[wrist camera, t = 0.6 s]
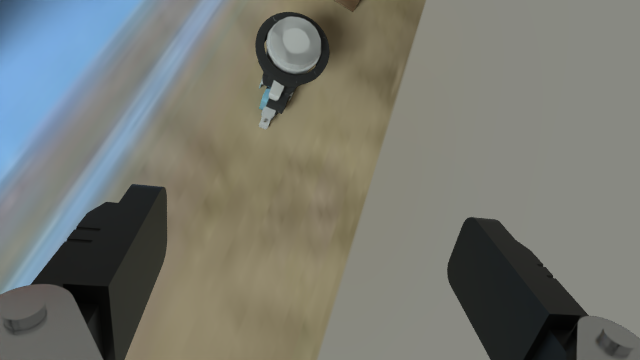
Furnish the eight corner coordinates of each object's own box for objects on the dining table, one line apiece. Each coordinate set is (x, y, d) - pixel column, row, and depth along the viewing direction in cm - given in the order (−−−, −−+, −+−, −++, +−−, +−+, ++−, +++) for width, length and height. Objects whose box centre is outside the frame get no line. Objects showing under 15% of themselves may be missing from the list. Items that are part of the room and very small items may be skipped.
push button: (288, 140, 37) (313, 107, 27) (232, 118, 36) (238, 75, 26) (311, 76, 38) (342, 24, 29) (258, 54, 37) (273, -9, 28)
